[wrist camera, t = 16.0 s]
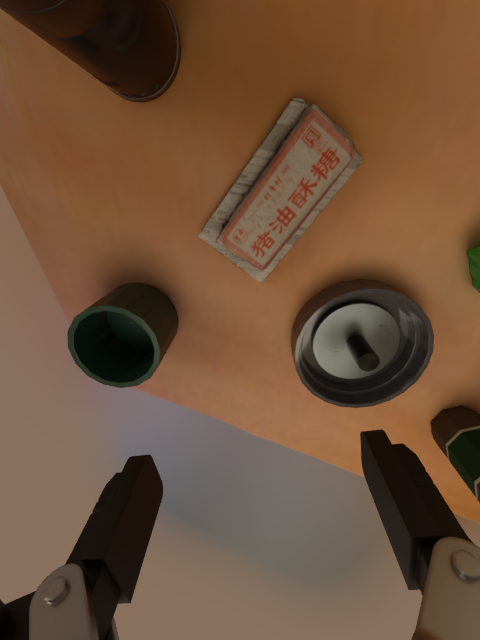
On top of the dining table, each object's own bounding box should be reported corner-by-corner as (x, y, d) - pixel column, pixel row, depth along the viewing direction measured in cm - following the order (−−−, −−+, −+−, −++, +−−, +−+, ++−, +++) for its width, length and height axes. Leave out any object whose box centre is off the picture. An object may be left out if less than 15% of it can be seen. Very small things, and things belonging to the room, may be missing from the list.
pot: (92, 289, 41) (52, 314, 33) (166, 276, 40) (143, 298, 32) (119, 355, 45) (88, 392, 37) (186, 345, 44) (170, 381, 36)
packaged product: (301, 79, 27) (377, 155, 29) (294, 95, 31) (361, 160, 34) (191, 240, 33) (261, 293, 35) (199, 234, 37) (260, 282, 40)
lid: (307, 308, 40) (316, 326, 35) (396, 293, 39) (421, 310, 33) (315, 379, 45) (324, 406, 39) (396, 368, 43) (417, 395, 38)
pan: (283, 290, 40) (286, 302, 36) (417, 268, 38) (437, 277, 34) (297, 394, 46) (302, 414, 42) (413, 380, 44) (429, 399, 40)
